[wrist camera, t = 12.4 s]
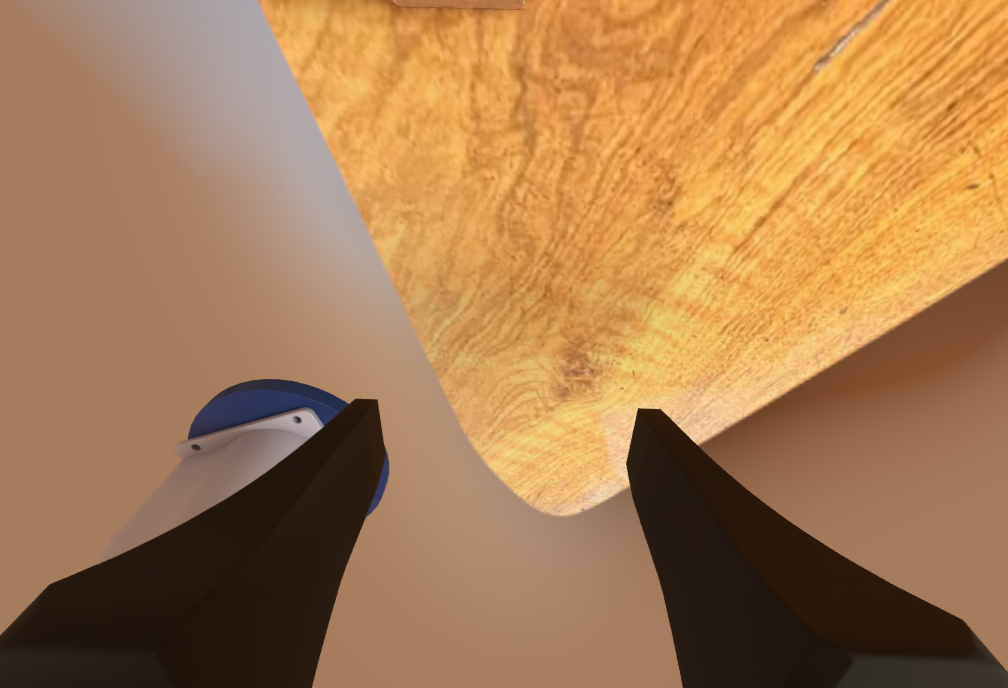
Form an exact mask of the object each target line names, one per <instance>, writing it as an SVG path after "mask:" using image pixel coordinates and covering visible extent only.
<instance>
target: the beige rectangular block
mask: <svg viewBox="0 0 1008 688" xmlns="http://www.w3.org/2000/svg"><path fill="white" fill-rule="evenodd" d="M391 1H392V2H394V3H395V4H396V5H398V6H401V7H448V8H494V9H523V8H524V3H525V0H391Z"/></svg>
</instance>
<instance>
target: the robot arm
mask: <svg viewBox="0 0 1008 688" xmlns="http://www.w3.org/2000/svg"><path fill="white" fill-rule="evenodd" d="M296 416H297V417H300V418H301V419H298V418H297V417H296ZM174 449H175V452H176V453H177V454H178V456H180V458H181V459H182V461H181V463H180V464H179V465H178V466H177V467H176V468H175V469H174V470H173V471H172V472H171V473H170V474H169V475H168V476H167V477H166V479H165V480H164V481H163V482H162V483H161V484H160V485H159V486H158V487H157V488H156V489H155V490H154V491H153V492H152V494H151V495H150V496H149V497H148V498H147V499H146V500H145V501H144V502H143V503H142V504H141V505H140V506H139V508H138V509H137V510H136V511H135V512H134V513H133V514H132V515H131V516H130V517H129V518H128V519H127V520H126V522H125V523H124V524H123V525H122V526H121V527H120V528H119V529H118V530H117V531H116V532H115V533H114V535H113V536H112V537H111V538H110V540H109V541H108V542H107V543H106V545H105V546H104V548H103V550H102V552H101V554H100V556H99V558H98V561H97V563H96V565H95V566H92V567H90V568H88V569H85V570H83V571H81V572H79V573H76V574H74V575H71V576H69V577H67V578H64V579H62V580H59V581H57V582H54V583H52V584H50V585H49V586H48V587H47V588H46V589H45V590H44V591H43V592H42V593H41V594H40V595H39V596H38V597H37V598H36V599H35V600H34V601H33V602H32V603H31V604H30V605H29V606H28V607H27V608H26V610H25V611H23V612H22V614H21V615H20V616H19V617H18V618H17V619H16V620H15V621H14V622H13V623H12V624H11V625H10V626H9V627H8V628H7V629H6V630H5V631H4V632H3V633H2V634H1V635H0V688H312V684H313V681H314V677H315V673H316V669H317V665H318V661H319V657H320V653H321V650H322V646H323V642H324V639H325V635H326V631H327V628H328V624H329V620H330V617H331V613H332V610H333V606H334V603H335V600H336V596H337V593H338V590H339V586H340V583H341V580H342V577H343V574H344V571H345V568H346V565H347V563H348V560H349V558H350V555H351V553H352V550H353V547H354V545H355V543H356V540H357V538H358V535H359V533H360V530H361V528H362V525H363V523H364V520H365V518H366V515H367V513H368V510H369V508H370V505H371V503H372V500H373V498H374V495H375V492H376V490H377V487H378V483H379V479H380V476H381V472H382V468H383V464H384V459H385V448H384V442H383V434H382V427H381V421H380V414H379V407H378V400H376V399H355V400H354V401H352V402H351V403H350V404H349V405H348V406H346V407H345V408H344V409H343V410H342V411H341V412H340V413H338V414H337V415H336V416H335V417H334V418H333V419H332V420H330V421H329V422H328V423H327V424H326V425H325V426H324V425H323V423H322V422H321V421H320V419H319V418H318V416H317V415H316V413H315V412H314V411H313V410H312V409H310V408H308V407H302V408H299V409H295V410H291V411H288V412H284V413H281V414H277V415H274V416H270V417H266V418H263V419H259V420H256V421H252V422H249V423H245V424H241V425H238V426H234V427H231V428H227V429H224V430H220V431H216V432H213V433H209V434H206V435H202V436H199V437H195V438H191V439H188V440H185V441H181V442H179V443H178V444H177V445H176V446H175V448H174ZM626 465H627V471H628V476H629V482H630V487H631V491H632V497H633V500H634V504H635V507H636V510H637V513H638V516H639V519H640V522H641V526H642V528H643V532H644V535H645V538H646V541H647V544H648V546H649V550H650V553H651V556H652V559H653V562H654V565H655V568H656V571H657V574H658V577H659V580H660V585H661V588H662V591H663V595H664V600H665V604H666V608H667V613H668V618H669V622H670V626H671V631H672V636H673V641H674V645H675V650H676V655H677V660H678V665H679V670H680V674H681V680H682V685H683V688H1008V672H1007V671H1006V670H1005V668H1004V667H1003V666H1002V665H1001V664H1000V663H999V661H998V660H997V659H996V658H995V657H994V656H993V654H992V653H991V652H990V651H989V650H988V649H987V647H985V645H984V644H983V643H982V642H981V641H980V639H979V638H978V637H977V636H976V635H975V633H974V632H973V631H972V630H971V629H970V628H969V626H968V625H967V624H966V623H965V622H964V621H963V620H962V619H960V618H958V617H956V616H954V615H952V614H950V613H948V612H946V611H944V610H942V609H940V608H938V607H936V606H934V605H932V604H930V603H928V602H926V601H924V600H922V599H920V598H918V597H916V596H914V595H912V594H910V593H908V592H906V591H904V590H902V589H900V588H898V587H897V586H894V585H893V584H891V583H889V582H887V581H885V580H884V579H882V578H880V577H878V576H877V575H875V574H873V573H871V572H869V571H868V570H866V569H864V568H862V567H861V566H859V565H857V564H855V563H854V562H852V561H850V560H849V559H847V558H845V557H844V556H842V555H840V554H839V553H837V552H835V551H834V550H832V549H830V548H829V547H827V546H826V545H824V544H823V543H821V542H820V541H818V540H817V539H815V538H813V537H812V536H810V535H809V534H807V533H806V532H804V531H802V530H801V529H800V528H798V527H797V526H795V525H794V524H792V523H791V522H789V521H788V520H787V519H785V518H784V517H782V516H781V515H780V514H778V513H777V512H776V511H774V510H773V509H772V508H770V507H769V506H767V505H766V504H765V503H764V502H762V501H761V500H760V499H758V498H757V497H756V496H754V495H753V494H752V493H751V492H749V491H748V490H747V489H746V488H745V487H743V486H742V485H741V484H740V483H739V482H737V481H736V480H735V479H734V478H733V477H732V476H730V475H729V474H728V473H727V472H726V471H725V470H723V469H722V468H721V467H720V466H719V465H718V464H717V463H716V462H714V461H713V460H712V459H711V458H710V457H709V456H708V455H707V454H706V453H705V452H704V451H703V450H702V449H701V448H700V447H699V446H698V445H697V444H695V443H694V442H693V441H692V440H691V439H690V438H689V437H688V436H687V435H686V434H685V433H684V432H683V431H682V430H681V429H680V428H679V427H678V426H677V425H676V424H675V423H674V422H673V421H672V420H671V419H670V418H669V417H668V416H667V415H666V414H665V413H664V412H663V411H662V410H661V409H640V408H638V411H637V416H636V421H635V425H634V430H633V435H632V439H631V444H630V449H629V453H628V458H627V463H626Z"/></svg>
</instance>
